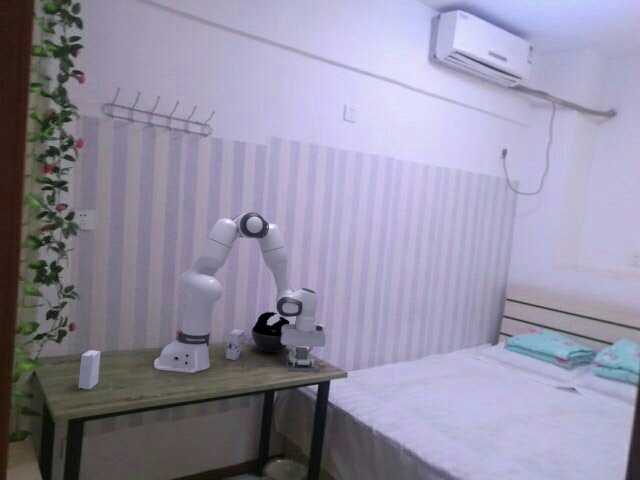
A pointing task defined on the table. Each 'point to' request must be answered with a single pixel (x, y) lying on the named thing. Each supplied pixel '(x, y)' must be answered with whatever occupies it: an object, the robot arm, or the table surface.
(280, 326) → the coal bowl
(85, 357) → the skincare box
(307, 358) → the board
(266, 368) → the table surface
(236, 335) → the ink box
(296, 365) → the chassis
